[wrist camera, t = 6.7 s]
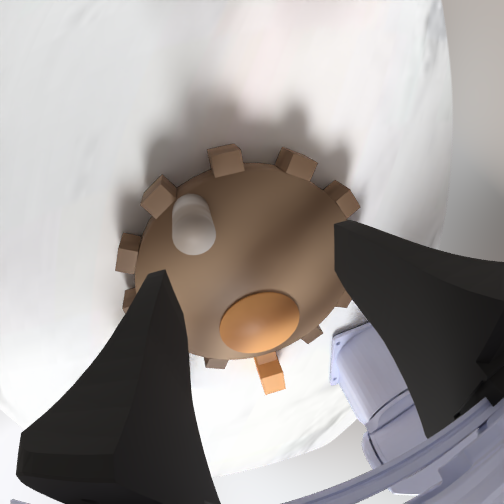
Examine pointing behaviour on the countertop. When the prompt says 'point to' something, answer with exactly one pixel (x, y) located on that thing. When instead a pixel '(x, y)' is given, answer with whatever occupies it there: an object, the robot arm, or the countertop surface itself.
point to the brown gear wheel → (243, 253)
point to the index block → (271, 376)
